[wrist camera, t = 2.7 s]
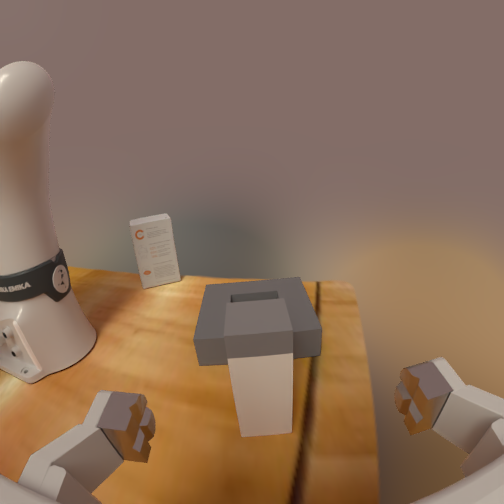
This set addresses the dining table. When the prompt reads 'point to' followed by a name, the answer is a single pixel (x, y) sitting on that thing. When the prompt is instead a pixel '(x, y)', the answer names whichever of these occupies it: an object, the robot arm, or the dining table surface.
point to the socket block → (290, 289)
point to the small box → (155, 250)
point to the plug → (260, 365)
